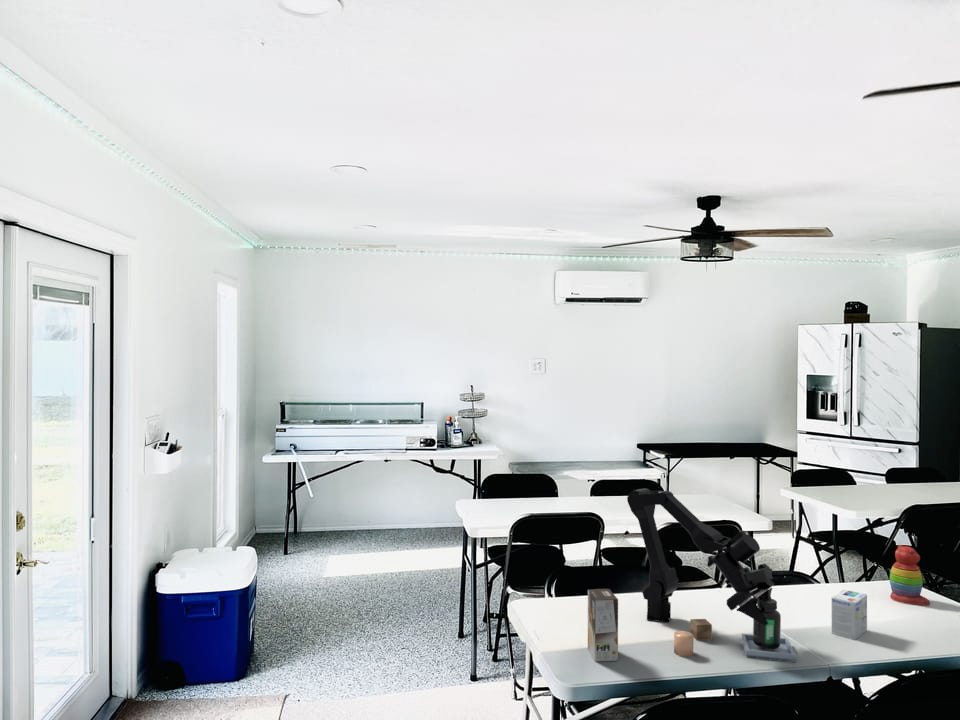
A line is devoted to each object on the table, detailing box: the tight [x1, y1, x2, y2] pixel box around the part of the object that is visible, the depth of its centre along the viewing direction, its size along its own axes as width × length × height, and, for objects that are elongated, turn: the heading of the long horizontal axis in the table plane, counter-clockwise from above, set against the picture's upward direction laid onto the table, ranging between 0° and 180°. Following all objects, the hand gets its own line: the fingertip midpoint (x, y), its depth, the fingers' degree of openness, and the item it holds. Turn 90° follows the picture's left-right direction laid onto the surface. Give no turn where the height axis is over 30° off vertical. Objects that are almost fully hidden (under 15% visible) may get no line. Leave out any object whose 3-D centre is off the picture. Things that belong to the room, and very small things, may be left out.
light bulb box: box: [831, 589, 868, 641], centre depth 200 cm, size 11×7×11 cm, turn 134°
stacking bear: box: [889, 544, 931, 606], centre depth 229 cm, size 11×10×18 cm
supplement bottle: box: [752, 597, 782, 649], centre depth 187 cm, size 7×7×12 cm
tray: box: [741, 633, 796, 663], centre depth 187 cm, size 12×12×2 cm
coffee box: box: [587, 588, 619, 662], centre depth 183 cm, size 9×6×16 cm
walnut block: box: [689, 618, 713, 641], centre depth 196 cm, size 4×4×4 cm
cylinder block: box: [673, 630, 695, 658], centre depth 185 cm, size 5×5×5 cm
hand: (771, 621), depth 186 cm, fingers closed on supplement bottle, 7 cm apart
